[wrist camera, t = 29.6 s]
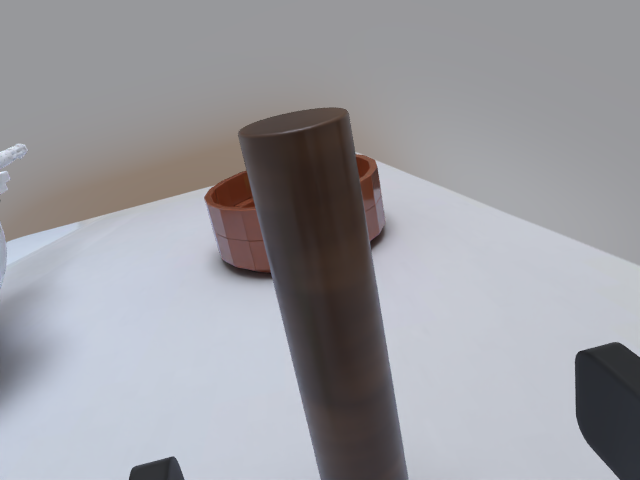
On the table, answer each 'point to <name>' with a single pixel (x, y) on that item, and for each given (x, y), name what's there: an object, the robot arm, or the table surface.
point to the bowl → (243, 225)
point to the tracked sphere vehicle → (3, 160)
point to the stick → (326, 288)
